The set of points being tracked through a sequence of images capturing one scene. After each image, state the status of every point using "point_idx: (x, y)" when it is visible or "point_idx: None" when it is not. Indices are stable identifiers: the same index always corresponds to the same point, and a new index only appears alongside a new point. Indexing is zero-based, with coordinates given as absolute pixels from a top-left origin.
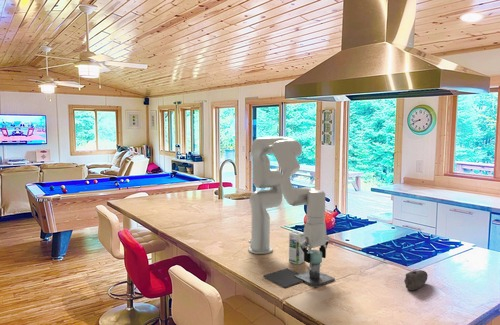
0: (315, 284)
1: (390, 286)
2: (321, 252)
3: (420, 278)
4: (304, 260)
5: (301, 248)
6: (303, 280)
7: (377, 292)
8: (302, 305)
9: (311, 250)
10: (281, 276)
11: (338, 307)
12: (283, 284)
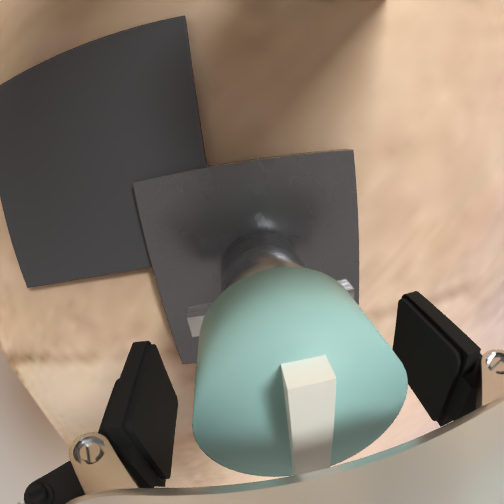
0: (192, 356)
1: None
2: (359, 446)
3: None
4: (135, 351)
5: (26, 500)
6: (155, 275)
7: (381, 439)
8: (67, 420)
9: (285, 402)
10: (58, 142)
11: (181, 470)
12: (27, 260)
